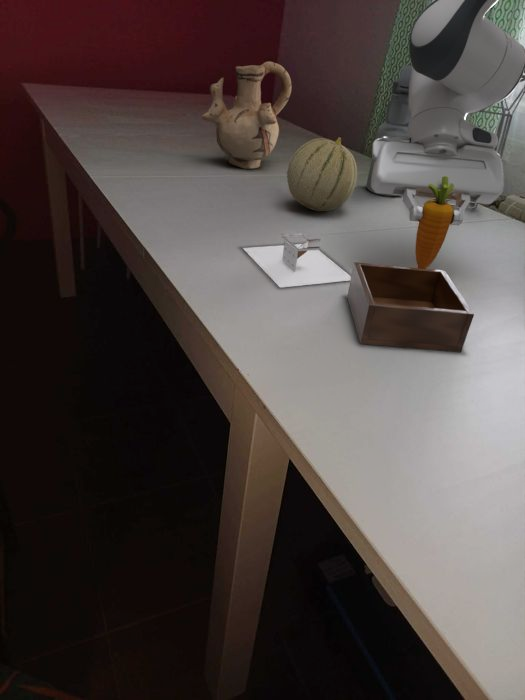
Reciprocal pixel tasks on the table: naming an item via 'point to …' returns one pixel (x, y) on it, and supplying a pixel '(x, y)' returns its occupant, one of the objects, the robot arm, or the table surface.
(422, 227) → the carrot
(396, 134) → the water bottle
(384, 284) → the basket
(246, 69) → the ceramic vessel
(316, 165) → the cantaloupe
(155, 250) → the table surface
